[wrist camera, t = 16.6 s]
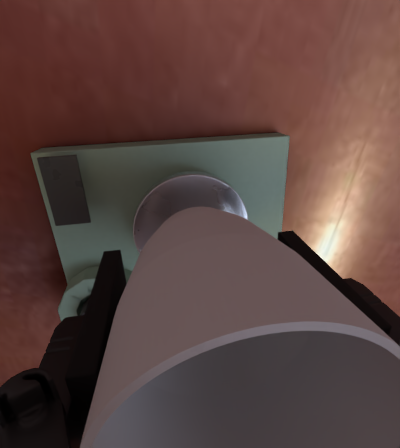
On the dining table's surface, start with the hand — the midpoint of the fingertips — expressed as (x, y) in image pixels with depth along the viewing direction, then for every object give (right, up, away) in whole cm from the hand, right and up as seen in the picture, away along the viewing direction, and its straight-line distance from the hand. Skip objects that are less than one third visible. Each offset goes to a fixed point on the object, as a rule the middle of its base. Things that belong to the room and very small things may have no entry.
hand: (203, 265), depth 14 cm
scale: (-2, +2, +8) cm, 8 cm away
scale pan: (-3, +2, +4) cm, 5 cm away
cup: (0, +1, +2) cm, 2 cm away
